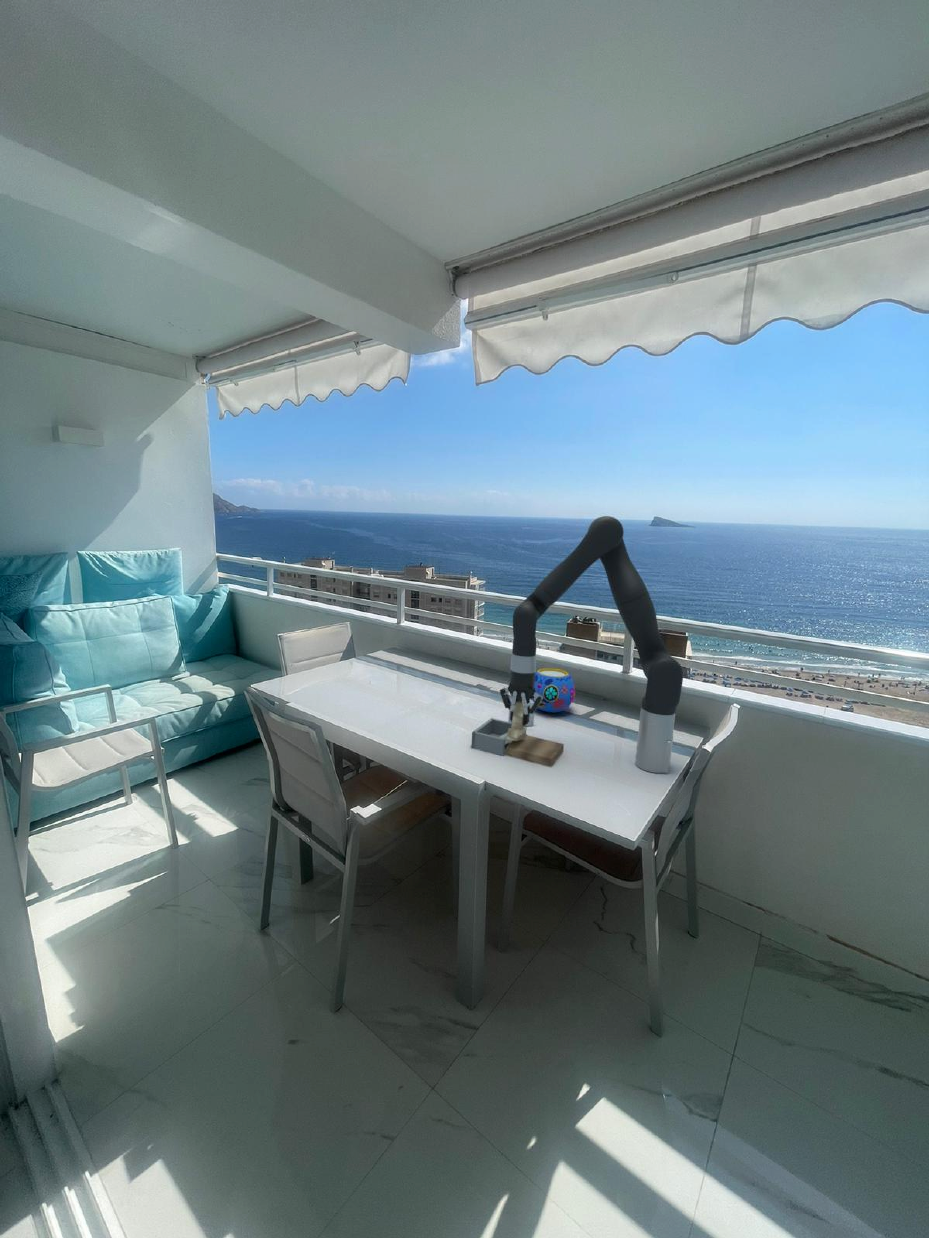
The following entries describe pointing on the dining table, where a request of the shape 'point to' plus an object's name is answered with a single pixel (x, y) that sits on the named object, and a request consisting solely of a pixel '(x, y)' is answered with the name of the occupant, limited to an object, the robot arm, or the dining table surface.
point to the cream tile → (505, 738)
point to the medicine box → (531, 717)
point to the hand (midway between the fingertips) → (519, 723)
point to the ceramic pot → (554, 689)
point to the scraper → (517, 724)
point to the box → (491, 736)
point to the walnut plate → (535, 750)
